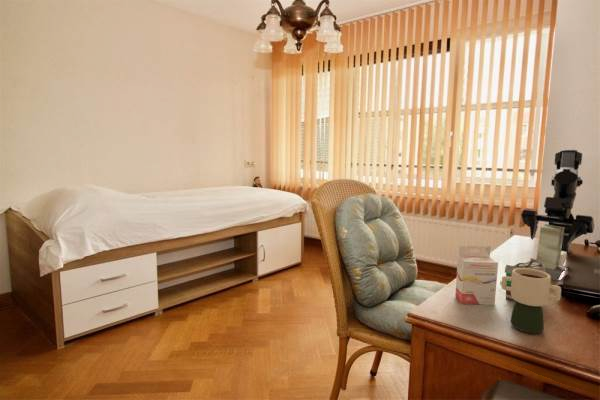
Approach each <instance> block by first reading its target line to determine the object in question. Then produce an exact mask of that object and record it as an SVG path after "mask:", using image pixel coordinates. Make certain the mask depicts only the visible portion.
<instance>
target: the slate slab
mask: <svg viewBox="0 0 600 400" xmlns="http://www.w3.org/2000/svg"><path fill="white" fill-rule="evenodd" d="M565 266H566V265H565ZM565 266H561V265H559V266H558V267H557V268H556V269H554V270H553V269H549V268H545V269H546V273H547V274H549V275H550V276H551V281H552V280H553V281H557V282H559V281H558V279H559V277H560V275H561V273H562V272H563V271H565V268H566V267H567V266H566V267H565Z"/></svg>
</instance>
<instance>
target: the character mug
mask: <svg viewBox="0 0 600 400" xmlns="http://www.w3.org/2000/svg"><path fill="white" fill-rule="evenodd" d="M501 280H502V284H500V285H501V289H502V290H504V291H506V290H507V291H511V296H512V298H513V299H514V300H515V301H516V302H514V304H513V308H512V312H511V316H510V321H509V322H510V324H511V325H512V326H513V327H514V328H516V329H517V330H520V331H522V332H526V333H530V334H532V333H533V334H534V333H535V334H537V333H541V332H542V331H544V330H545V322H544V311H543V308H542V307H543V306H546V305H547V304H548V303H549V301H550V300H551V301H556V302H557V301H560V300H561V298H562V287H561V286H559V285H554V284H551V283H552V280H551V276H550V275H549V274H547V273H545V272H542V271H539V270H535V269H528V268H517V269H514V270H513V271H512V277H508V276H506V275H503V276H502V277H501ZM507 281H511V287H508V286H506V283H507ZM551 290H554V291H555V292H554V295H552V294H550V291H551Z"/></svg>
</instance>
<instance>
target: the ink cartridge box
mask: <svg viewBox="0 0 600 400" xmlns="http://www.w3.org/2000/svg"><path fill="white" fill-rule="evenodd" d="M473 250H476V251H473ZM456 263H457V264H456V266H457V267H456V281H455V297H456V299H457V300H458V301H459V303H460V304H463V305H464V304H465V305H481V306H482V305H484V306H485V305H487V306H495V305H496V293H497V281H498V279H497V278H498V269H499V262H498V261H497V260H496V259H494V258H492V257H491V246H490V245H460V246H459V249H458V256H457V262H456Z"/></svg>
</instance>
